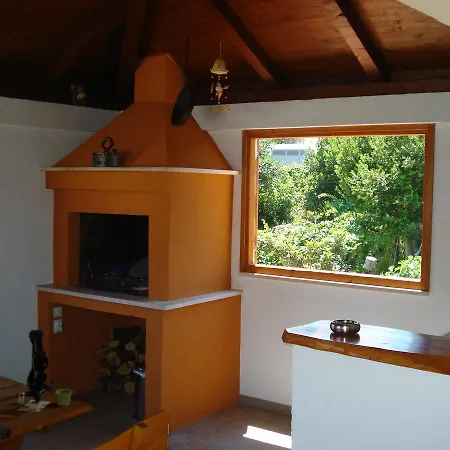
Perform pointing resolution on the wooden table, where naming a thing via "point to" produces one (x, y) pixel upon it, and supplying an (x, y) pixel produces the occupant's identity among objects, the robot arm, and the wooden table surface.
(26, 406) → the board
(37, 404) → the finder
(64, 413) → the wooden table surface
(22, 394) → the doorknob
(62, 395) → the plant pot
